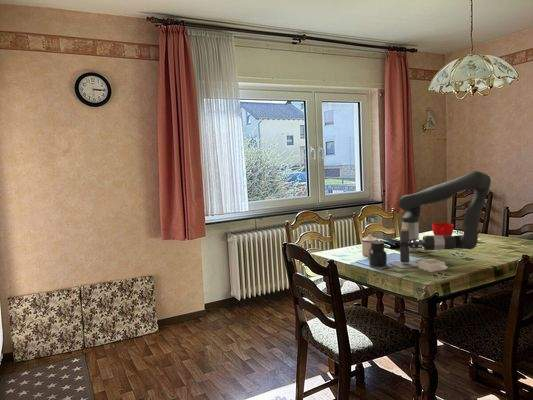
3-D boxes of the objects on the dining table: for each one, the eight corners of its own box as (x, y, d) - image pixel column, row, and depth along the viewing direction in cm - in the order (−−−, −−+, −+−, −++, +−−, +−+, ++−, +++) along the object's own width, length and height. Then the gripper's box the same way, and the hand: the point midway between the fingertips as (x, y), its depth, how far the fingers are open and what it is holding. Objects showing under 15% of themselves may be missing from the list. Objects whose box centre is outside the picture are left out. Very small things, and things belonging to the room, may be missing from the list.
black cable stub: (398, 261, 217) (397, 227, 215) (405, 260, 218) (405, 227, 216) (403, 263, 212) (403, 229, 211) (411, 262, 214) (410, 228, 212)
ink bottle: (385, 262, 222) (385, 240, 221) (389, 266, 213) (389, 243, 212) (367, 263, 222) (366, 240, 221) (370, 267, 214) (369, 244, 212)
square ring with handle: (418, 267, 209) (418, 260, 209) (432, 265, 212) (432, 258, 211) (438, 274, 195) (438, 267, 195) (454, 272, 198) (454, 265, 197)
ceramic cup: (431, 241, 268) (431, 226, 267) (432, 237, 284) (432, 222, 283) (453, 242, 263) (453, 227, 262) (453, 237, 279) (453, 222, 278)
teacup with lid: (370, 257, 234) (369, 236, 233) (358, 254, 242) (358, 234, 241) (385, 254, 241) (384, 234, 240) (373, 251, 248) (372, 232, 247)
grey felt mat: (387, 263, 219) (387, 262, 219) (407, 260, 223) (407, 260, 223) (401, 268, 208) (401, 267, 208) (421, 266, 212) (421, 265, 212)
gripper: (429, 233, 219) (396, 234, 221) (437, 238, 205) (401, 239, 207) (429, 247, 220) (396, 247, 222) (437, 253, 206) (401, 253, 208)
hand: (399, 243), depth 215 cm, fingers closed on black cable stub, 4 cm apart
